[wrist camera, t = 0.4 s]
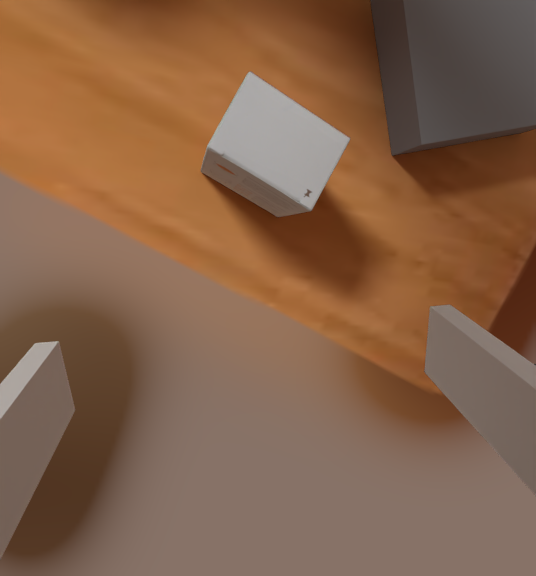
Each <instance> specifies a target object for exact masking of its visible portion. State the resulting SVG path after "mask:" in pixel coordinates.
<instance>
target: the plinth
mask: <svg viewBox="0 0 536 576" xmlns="http://www.w3.org/2000/svg"><path fill="white" fill-rule="evenodd" d="M370 2H371V9H372V16H373V23H374V30H375V38H376V45H377V52H378V59H379V66H380V74H381V81H382V88H383V95H384V102H385V110H386V117H387V124H388V131H389V139H390V146H391V153H392V156H393V155H399V154H405V153H410V152H416V151H422V150H427V149H433V148H439V147H444V146H450V145H456V144H462V143H467V142H473V141H479V140H484V139H490V138H496V137H501V136H507V135H513V134H518V133H523V132H526V131H530V130H533V129H536V0H370Z"/></svg>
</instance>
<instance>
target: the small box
mask: <svg viewBox="0 0 536 576" xmlns="http://www.w3.org/2000/svg"><path fill="white" fill-rule="evenodd" d="M349 141H350V137H348V136H346V135H345V134H343V133H342V132H340V131H339V130H338V129H336V128H335V127H333V126H332V125H330V124H328V123H327V122H325V121H324V120H322V119H321V118H319V117H318V116H316V115H315V114H313V113H312V112H310V111H309V110H307V109H306V108H304V107H303V106H301V105H300V104H298V103H297V102H296V101H294V100H292V99H291V98H289V97H288V96H286V95H285V94H283V93H282V92H280V91H279V90H277V89H276V88H275V87H273V86H272V85H270V84H269V83H267V82H266V81H264V80H263V79H261V78H260V77H258V76H257V75H255V74H254V73H252V72H251V71H250V72H248V74H247V75H246V77H245V79H244V81H243V82H242V84H241V86H240V88H239V90H238V91H237V93H236V95H235V97H234V98H233V100H232V102H231V104H230V106H229V107H228V109H227V111H226V113H225V115H224V116H223V118H222V120H221V122H220V124H219V126H218V127H217V129H216V131H215V133H214V135H213V137H212V138H211V140H210V142H209V144H208V146H207V149H206V153H205V156H204V160H203V164H202V167H201V172H202V173H204V174H205V175H207V176H209V177H211V178H212V179H214V180H216V181H217V182H219V183H221V184H222V185H224V186H226V187H228V188H229V189H231V190H233V191H234V192H236V193H238V194H239V195H241V196H243V197H245V198H246V199H248V200H250V201H251V202H253V203H255V204H256V205H258V206H260V207H262V208H263V209H265V210H267V211H268V212H270V213H272V214H273V215H275V216H276V217H282V216H288V215H293V214H298V213H304V212H309V211H312V209H313V207H314V206H315V204H316V202H317V200H318V198H319V196H320V194H321V193H322V191H323V189H324V187H325V185H326V183H327V181H328V180H329V178H330V176H331V174H332V172H333V170H334V169H335V167H336V165H337V163H338V161H339V159H340V157H341V156H342V154H343V152H344V150H345V148H346V146H347V145H348V143H349Z"/></svg>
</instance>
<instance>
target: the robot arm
mask: <svg viewBox="0 0 536 576" xmlns="http://www.w3.org/2000/svg"><path fill="white" fill-rule="evenodd" d="M424 372H425V373H426V374H427V375H428V377H429V378H430V379H431V380H432V381H433V382H434V383H435V384H436V386H437V387H438V388H439V389H440V390H441V391H442V392H443V393H444V394H445V396H446V397H447V398H448V399H449V400H450V401H451V402H452V403H453V404H454V406H455V407H456V408H457V409H458V410H459V411H460V412H461V413H462V415H463V416H464V417H465V418H466V419H467V420H468V421H469V422H470V423H471V425H472V426H473V427H474V428H475V429H476V430H477V431H478V432H479V433H480V435H481V436H482V437H483V438H484V439H485V440H486V441H487V442H488V443H489V445H490V446H491V447H492V448H493V449H494V450H495V451H496V452H497V454H498V455H499V456H500V457H501V458H502V459H503V460H504V461H505V462H506V464H507V465H508V466H509V467H510V468H511V469H512V470H513V471H514V472H515V473H516V475H517V476H518V477H519V478H520V479H521V480H522V481H523V482H524V484H525V485H526V486H527V487H528V488H529V489H530V490H531V491H532V493H533V494H534V495H535V496H536V364H533V363H531V362H530V361H528V360H527V359H526V358H524V357H523V356H521V355H520V354H519V353H517V352H516V351H514V350H513V349H512V348H510V347H509V346H507V345H506V344H505V343H503V342H502V341H500V340H499V339H498V338H496V337H495V336H493V335H492V334H491V333H489V332H488V331H486V330H485V329H483V328H482V327H481V326H479V325H478V324H476V323H475V322H474V321H472V320H471V319H469V318H468V317H467V316H465V315H464V314H462V313H461V312H460V311H458V310H457V309H455V308H454V307H453V306H451V305H441V306H430V314H429V325H428V337H427V348H426V360H425V371H424ZM74 411H75V408H74V403H73V399H72V395H71V391H70V387H69V382H68V378H67V374H66V370H65V366H64V361H63V357H62V353H61V349H60V344H59V341H56V342H46V343H35V344H34V345H33V346H32V348H31V349H30V350H29V351H28V352H27V353H26V355H25V356H24V357H23V358H22V359H21V360H20V362H19V363H18V364H17V365H16V366H15V368H14V369H13V370H12V371H11V372H10V373H9V375H8V376H7V377H6V378H5V379H4V380H3V382H2V383H1V384H0V559H1V557H2V555H3V553H4V551H5V549H6V547H7V545H8V543H9V541H10V539H11V537H12V535H13V533H14V531H15V529H16V527H17V525H18V523H19V521H20V519H21V517H22V515H23V513H24V511H25V509H26V507H27V505H28V503H29V501H30V499H31V497H32V495H33V493H34V491H35V489H36V487H37V485H38V483H39V481H40V479H41V477H42V475H43V473H44V471H45V469H46V467H47V465H48V463H49V461H50V459H51V457H52V455H53V453H54V451H55V449H56V447H57V445H58V443H59V441H60V439H61V437H62V435H63V433H64V431H65V429H66V427H67V425H68V423H69V421H70V419H71V417H72V415H73V413H74Z"/></svg>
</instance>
